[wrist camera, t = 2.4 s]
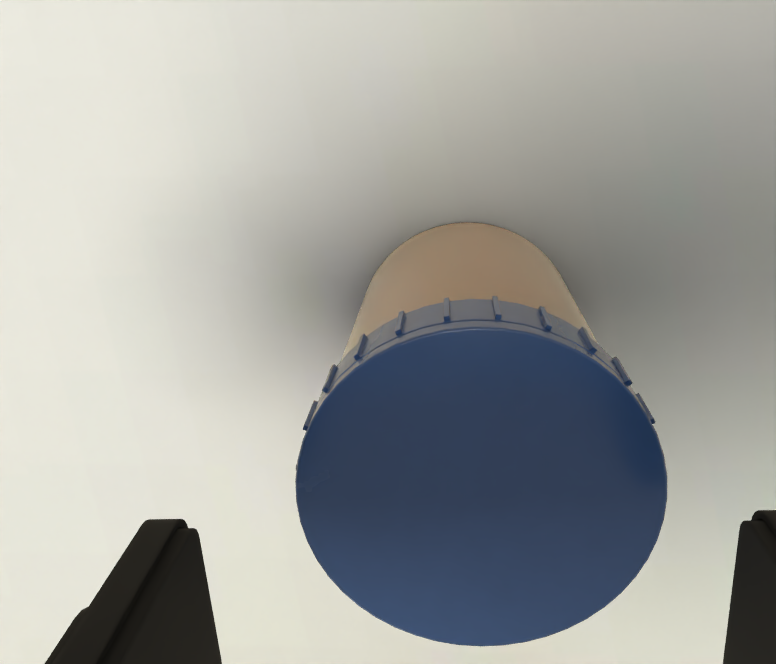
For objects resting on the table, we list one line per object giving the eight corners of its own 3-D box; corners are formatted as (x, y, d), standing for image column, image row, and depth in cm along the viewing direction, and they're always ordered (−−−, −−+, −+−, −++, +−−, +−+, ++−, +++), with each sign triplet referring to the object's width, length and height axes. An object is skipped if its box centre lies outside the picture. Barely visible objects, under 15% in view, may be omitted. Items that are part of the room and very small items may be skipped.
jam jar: (574, 216, 21) (663, 319, 12) (569, 417, 23) (642, 624, 15) (353, 226, 22) (290, 332, 13) (369, 420, 24) (323, 622, 15)
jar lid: (658, 287, 13) (686, 317, 12) (637, 593, 16) (658, 651, 14) (291, 301, 14) (271, 330, 13) (324, 592, 17) (311, 647, 15)
